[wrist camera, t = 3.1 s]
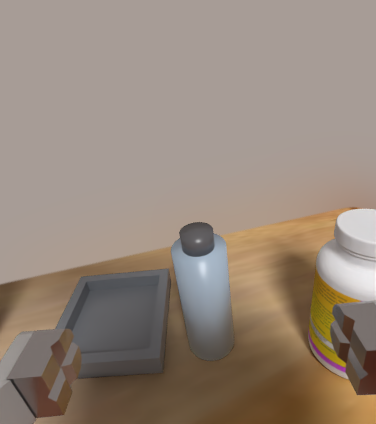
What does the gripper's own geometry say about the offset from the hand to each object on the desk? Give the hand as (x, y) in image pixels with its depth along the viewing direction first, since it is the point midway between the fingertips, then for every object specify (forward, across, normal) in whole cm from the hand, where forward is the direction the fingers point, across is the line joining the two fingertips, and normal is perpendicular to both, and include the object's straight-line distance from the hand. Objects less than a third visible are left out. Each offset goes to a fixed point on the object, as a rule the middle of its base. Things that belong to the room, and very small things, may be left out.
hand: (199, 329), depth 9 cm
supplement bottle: (+11, -12, +17) cm, 23 cm away
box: (+16, +10, +16) cm, 25 cm away
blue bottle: (+13, 0, +17) cm, 21 cm away
